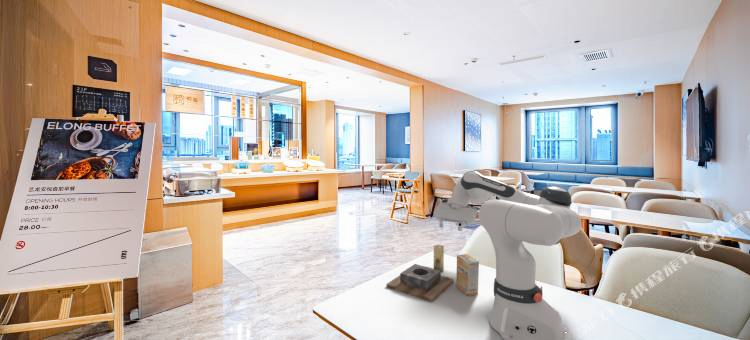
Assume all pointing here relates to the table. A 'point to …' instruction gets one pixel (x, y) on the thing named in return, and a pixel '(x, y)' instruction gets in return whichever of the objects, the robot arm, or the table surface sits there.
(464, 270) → the supplement box
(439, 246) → the brass plug
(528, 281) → the robot arm
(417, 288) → the socket board
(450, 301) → the table surface
